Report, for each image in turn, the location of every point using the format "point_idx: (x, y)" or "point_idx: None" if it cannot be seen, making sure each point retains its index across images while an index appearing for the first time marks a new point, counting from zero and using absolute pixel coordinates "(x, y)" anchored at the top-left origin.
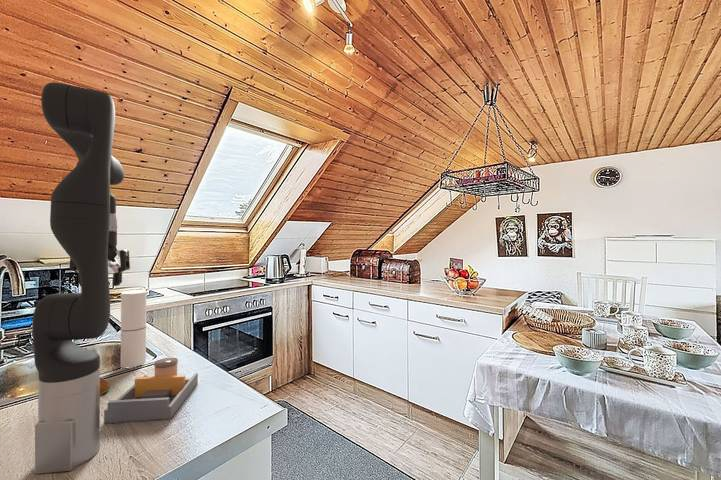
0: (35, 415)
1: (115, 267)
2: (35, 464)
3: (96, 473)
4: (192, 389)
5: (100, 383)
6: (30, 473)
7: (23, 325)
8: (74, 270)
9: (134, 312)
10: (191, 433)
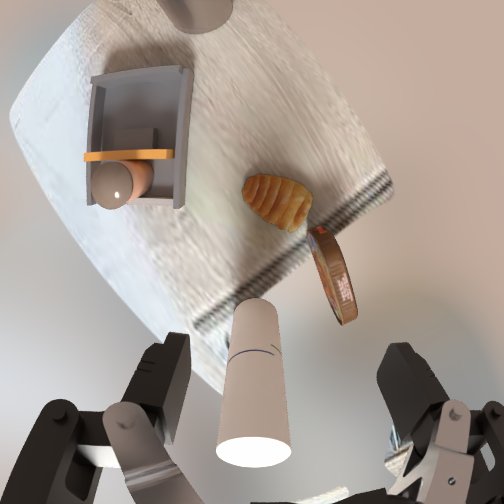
0: (325, 123)
1: (119, 449)
2: None
3: None
4: None
5: (260, 196)
6: None
7: None
8: (476, 412)
9: (239, 388)
10: (77, 57)
